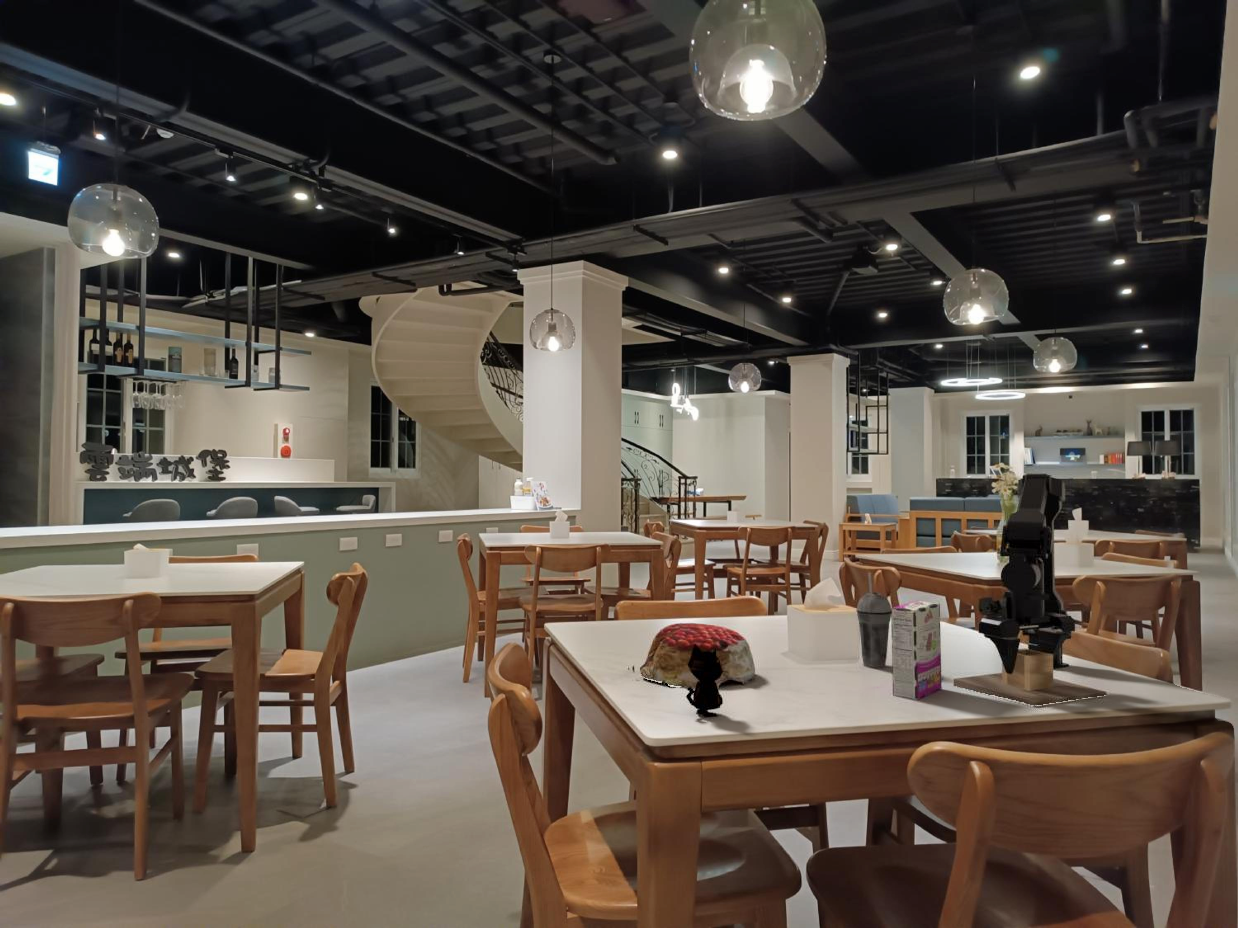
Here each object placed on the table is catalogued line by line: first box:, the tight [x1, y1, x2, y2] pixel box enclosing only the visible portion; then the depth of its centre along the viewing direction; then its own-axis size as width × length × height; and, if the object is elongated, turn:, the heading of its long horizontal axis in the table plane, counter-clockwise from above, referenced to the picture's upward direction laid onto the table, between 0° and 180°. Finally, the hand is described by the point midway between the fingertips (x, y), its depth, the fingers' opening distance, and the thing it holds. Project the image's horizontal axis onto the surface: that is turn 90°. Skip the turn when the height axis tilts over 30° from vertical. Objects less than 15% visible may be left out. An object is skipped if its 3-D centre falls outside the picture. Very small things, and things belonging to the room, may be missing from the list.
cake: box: [627, 622, 756, 689], centre depth 165 cm, size 23×24×10 cm
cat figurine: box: [685, 643, 730, 718], centre depth 135 cm, size 7×7×12 cm
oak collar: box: [1001, 647, 1054, 690], centre depth 151 cm, size 6×6×6 cm
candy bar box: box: [890, 600, 943, 701], centre depth 151 cm, size 11×5×16 cm, turn 136°
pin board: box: [953, 672, 1108, 706], centre depth 151 cm, size 18×18×6 cm
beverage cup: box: [856, 571, 892, 669], centre depth 173 cm, size 7×7×20 cm
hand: (1027, 671), depth 151 cm, fingers open, 9 cm apart
